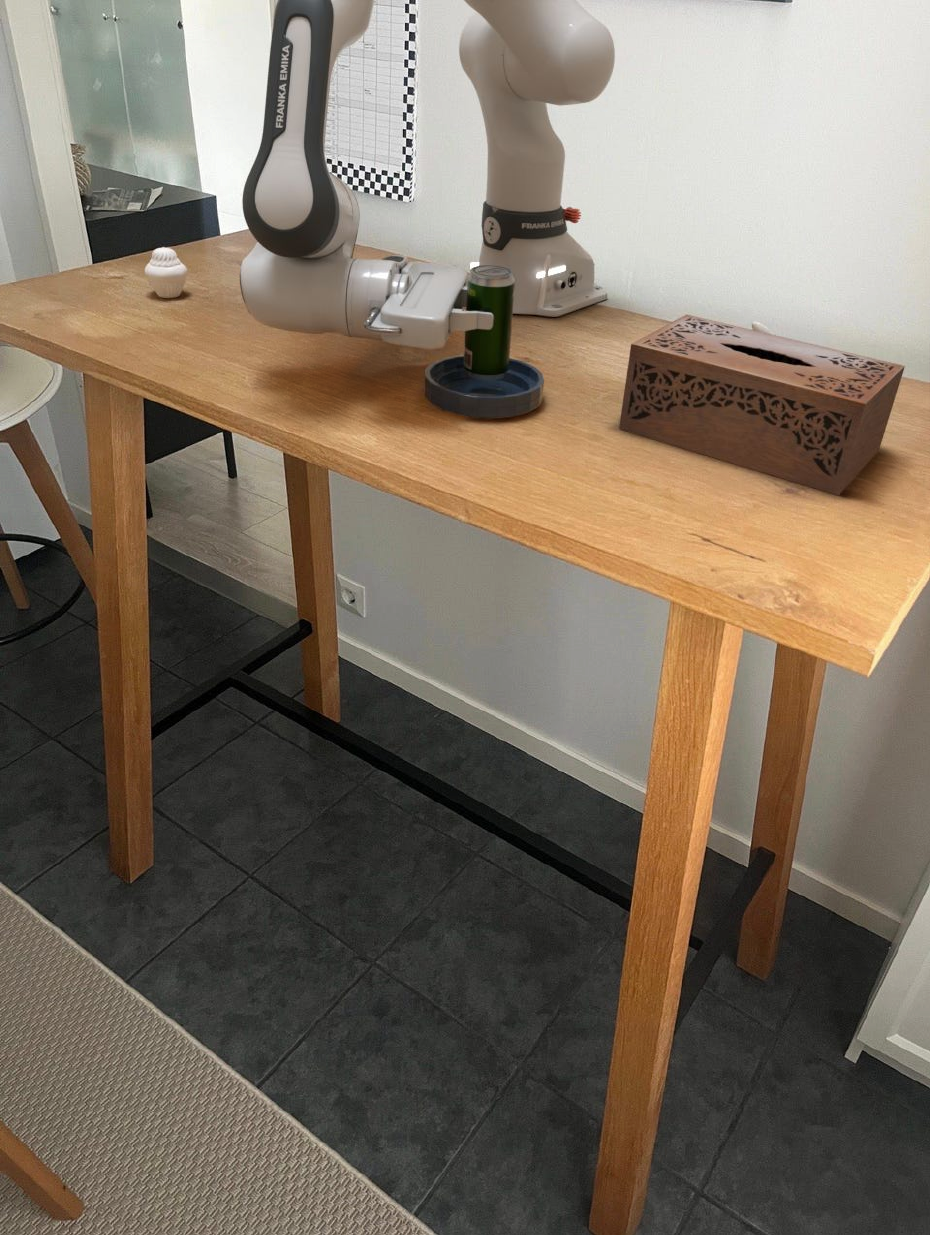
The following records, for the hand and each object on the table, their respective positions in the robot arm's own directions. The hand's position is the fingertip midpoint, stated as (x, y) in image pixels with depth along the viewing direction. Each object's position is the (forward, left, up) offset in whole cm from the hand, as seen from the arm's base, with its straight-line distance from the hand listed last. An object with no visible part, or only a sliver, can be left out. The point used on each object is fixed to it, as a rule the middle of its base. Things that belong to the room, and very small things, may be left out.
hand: (497, 311), depth 113 cm
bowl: (+1, -1, -11) cm, 11 cm away
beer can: (+1, -1, -8) cm, 8 cm away
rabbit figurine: (-39, +11, -11) cm, 42 cm away
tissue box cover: (-17, +25, -11) cm, 33 cm away
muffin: (+15, -58, -11) cm, 60 cm away
